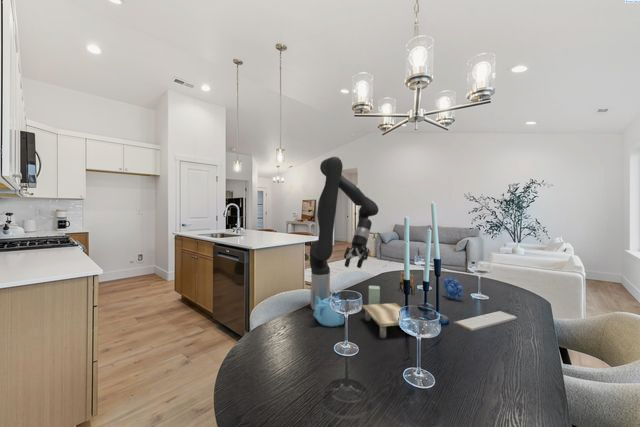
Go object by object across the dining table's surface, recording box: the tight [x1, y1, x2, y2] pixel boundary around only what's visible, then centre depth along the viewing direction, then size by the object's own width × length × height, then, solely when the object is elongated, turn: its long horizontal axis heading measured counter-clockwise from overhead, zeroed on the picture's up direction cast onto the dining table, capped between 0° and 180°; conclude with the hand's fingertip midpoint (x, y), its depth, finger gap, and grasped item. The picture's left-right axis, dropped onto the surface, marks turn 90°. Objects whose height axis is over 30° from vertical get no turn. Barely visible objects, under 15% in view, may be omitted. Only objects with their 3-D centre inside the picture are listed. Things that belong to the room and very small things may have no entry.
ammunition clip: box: [399, 270, 416, 295], centre depth 159 cm, size 11×2×12 cm, turn 26°
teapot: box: [313, 295, 345, 328], centre depth 118 cm, size 15×15×11 cm
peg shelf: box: [361, 302, 402, 339], centre depth 113 cm, size 16×20×6 cm
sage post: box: [368, 285, 381, 305], centre depth 128 cm, size 5×5×12 cm
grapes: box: [442, 276, 465, 301], centre depth 147 cm, size 12×7×12 cm, turn 34°
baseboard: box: [453, 308, 518, 332], centre depth 120 cm, size 30×3×10 cm
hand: (352, 267), depth 133 cm, fingers open, 8 cm apart
